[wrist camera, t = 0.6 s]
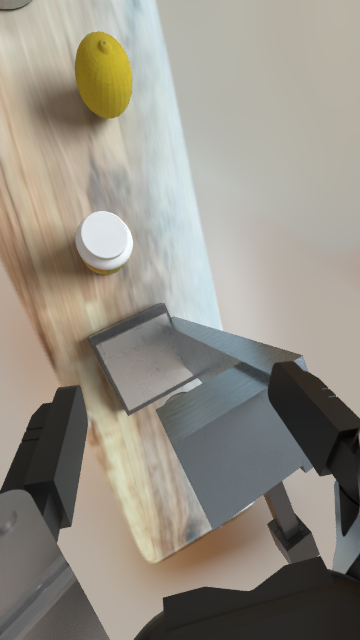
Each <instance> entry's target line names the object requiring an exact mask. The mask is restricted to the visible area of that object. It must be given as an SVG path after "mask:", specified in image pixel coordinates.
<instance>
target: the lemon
mask: <svg viewBox="0 0 360 640" xmlns="http://www.w3.org/2000/svg"><path fill="white" fill-rule="evenodd" d="M75 76H76V83H77V87H78V90H79V93H80V95H81V97H82V99H83V101H84V102H85V104H86V105H87V107H88V108H89V109H90V110H91V111H92V112H94V113H95V114H96V115H98V116H100V117H102V118H107V119H108V118H115V117H117V116H119V115H120V114H122V113H123V112H124V110H125V109H126V107H127V106H128V104H129V101H130V97H131V93H132V73H131V67H130V63H129V60H128V57H127V55H126V52H125V51H124V49H123V48H122V46H121V44H120V43H119V42H118V41H117V40H116V39H115V38H113V37H112V36H111V35H109V34H106V33H104V32H92V33H90V34H88V35H87V36H86V37H85V38H84V39H83V40H82V41H81V43H80V45H79V47H78V50H77V54H76V60H75Z"/></svg>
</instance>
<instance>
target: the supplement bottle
mask: <svg viewBox="0 0 360 640" xmlns="http://www.w3.org/2000/svg"><path fill="white" fill-rule="evenodd" d="M75 241H76V247H77V250H78V252H79V254H80V256H81V258H82V260H83V262H84V263H85V265H86V266H87V267H88V268H89V269H91V270H92V271H94V272H96V273H98V274H103V275H108V274H113V273H115V272H117V271H118V270H120V269H121V268H122V267H123V265H124V264H125V263H126V261H127V260H128V258H129V257H130V255H131V252H132V248H133V240H132V235H131V233H130V230H129V228H128V227H127V226H126V224H125V223H124V222H123V221H122V220H121V219H120V218H119V217H118V216H116V215H115V214H112V213H110V212H106V211H98V212H95V213H92V214H90V215H89V216H88V217H86V218H85V219H84V220H83V221H82V222H81V223H80V225H79V226H78V228H77V231H76V236H75Z"/></svg>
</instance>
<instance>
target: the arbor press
mask: <svg viewBox="0 0 360 640" xmlns="http://www.w3.org/2000/svg"><path fill="white" fill-rule="evenodd" d="M88 339H89V341H90V343H91V345H92V347H93V349H94V351H95V353H96V355H97V357H98V359H99V361H100V363H101V365H102V366H103V368H104V370H105V372H106V374H107V376H108V378H109V380H110V382H111V384H112V386H113V388H114V390H115V392H116V394H117V396H118V398H119V399H120V401H121V403H122V405H123V407H124V409H125V411H126V413H127V415H128V416H129V415H131V414H133V413H134V412H136V411H138V410H140V409H142V408H143V407H145V406H147V405H149V404H151V403H153V402H154V401H156V400H158V399H160V398H162V397H163V396H165V395H167V394H169V393H171V392H172V391H174V390H176V389H178V388H180V387H182V386H183V385H185V384H187V383H189V382H191V381H192V380H194V379H196V377H197V378H198V379H199V380H200V381H201V382H202V383H203V384H201V385H199V386H197V387H195V388H194V389H192V390H190V391H188V392H180V393H177V394H175V395H173V396H171V397H170V398H169V399H168V400H167V401H166V403H165V404H164V405H163V406H162V407H160V408H158V409H156V412H157V414H158V416H159V418H160V420H161V423H162V425H163V427H164V429H165V431H166V433H167V436H168V438H169V440H170V442H171V444H172V446H173V448H174V450H175V453H176V455H177V457H178V459H179V461H180V463H181V465H182V467H183V469H184V471H185V473H186V475H187V477H188V479H189V481H190V483H191V486H192V488H193V490H194V492H195V494H196V496H197V498H198V500H199V502H200V504H201V506H202V508H203V510H204V512H205V514H206V516H207V518H208V521H209V523H210V525H211V527H212V529H213V530H215V529H216V528H217V527H219V526H220V525H222V524H223V523H224V522H226V521H227V520H229V519H230V518H231V517H233V516H234V515H235V514H237V513H238V512H240V511H241V510H242V509H244V508H245V507H246V506H248V505H249V504H251V503H252V502H253V501H255V500H256V499H257V498H259V497H260V496H262V495H264V497H265V500H266V502H267V504H268V507H269V509H270V512H271V514H272V517H273V520H272V521H271V522H269V523H268V524H267V525H268V527H269V530H270V532H271V535H272V537H273V539H274V541H275V544H276V546H277V547H278V549H279V550H280V551H281V553H282V554H283V556H284V557H285V559H286V560H287V562H288V563H289V564H292V563H296V562H300V561H303V560H307V559H311V558H315V557H317V556H318V555H319V551H318V549H317V546H316V543H315V541H314V538H313V535H312V532H311V531H310V530H309V529H308V528H307V527H306V525H305V524H304V523H303V522H302V521H301V520H300V519H299V518H298V516H297V515H296V514H295V513H294V511H293V509H292V506H291V503H290V501H289V498H288V496H287V493H286V490H285V488H284V485H283V483H282V480H284V479H285V478H286V477H288V476H289V475H291V474H292V473H293V472H295V471H296V470H297V469H299V468H301V469H302V470H303V471H304V472H305V473H306V472H308V471H309V470H310V469H312V468H313V466H312V464H311V463H310V461H309V460H308V458H307V457H306V455H305V454H304V452H303V451H302V449H301V448H300V446H299V445H298V443H297V442H296V440H295V439H294V437H293V436H292V435H291V433H290V432H289V430H288V429H287V427H286V426H285V424H284V423H283V421H282V420H281V418H280V417H279V415H278V414H277V412H276V411H275V409H274V408H273V406H272V405H271V403H270V401H269V398H268V385H269V381H270V376H271V371H272V367H273V364H274V363H276V362H284V361H294V362H295V363H297V364H298V365H299V367H300V368H301V369H302V370H303V371H307V372H308V370H307V367H306V363H305V360H304V357H303V355H300V354H296V353H293V352H290V351H287V350H283V349H280V348H277V347H273V346H270V345H267V344H263V343H260V342H256V341H253V340H250V339H247V338H243V337H240V336H237V335H233V334H230V333H227V332H224V331H220V330H217V329H214V328H210V327H207V326H204V325H200V324H197V323H194V322H190V321H187V320H184V319H180V318H177V317H173V318H171V317H170V315H169V313H168V310H167V308H166V306H165V303H160V304H158V305H156V306H153V307H151V308H149V309H147V310H145V311H142V312H140V313H138V314H136V315H134V316H131V317H129V318H127V319H125V320H123V321H120V322H118V323H116V324H114V325H112V326H109V327H107V328H105V329H103V330H101V331H98V332H96V333H94V334H92V335H90V336H89V337H88Z"/></svg>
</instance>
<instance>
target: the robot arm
mask: <svg viewBox="0 0 360 640" xmlns="http://www.w3.org/2000/svg"><path fill="white" fill-rule="evenodd" d="M30 1H31V0H0V9H15V8H19V7H22V6H24V5H26V4H27V3H29V2H30ZM268 398H269V401H270V403H271V405H272V406H273V408H274V409H275V411H276V412H277V414H278V415H279V417H280V418H281V420H282V421H283V423H284V424H285V426H286V427H287V429H288V430H289V432H290V433H291V435H292V436H293V437H294V439H295V440H296V442H297V443H298V445H299V446H300V448H301V449H302V451H303V452H304V454H305V455H306V457H307V458H308V460H309V461H310V463H311V464H312V466H313V467H314V469H315V470H316V472H317V473H318V474H319V476H325V475H330V474H333V476H334V477H335V478H336V481H335V484H334V492H335V514H336V536H337V537H336V539H337V540H336V550H335V554H334V559H333V569H332V570H330V569H327V568H326V566H325V564H324V562H323V560H322V558H321V557H320V556H319V557H315V558H311V559H307V560H303V561H300V562H296V563H292V564H288V565H285V566H283V567H282V568H281V569H280V570H278V571H277V572H276V573H274V574H273V575H272V576H270V577H269V578H268V579H267V580H265V581H264V582H263V583H262V584H260V585H259V586H258V587H256V588H255V589H253V590H251V591H240V590H230V589H221V588H212V587H202V588H198V589H194V590H190V591H187V592H183V593H179V594H175V595H172V596H168V597H164V598H163V606H164V610H163V611H162V612H161V613H159V614H158V615H156V616H155V617H154V618H153V619H152V620H151V621H149V622H148V623H147V624H146V625H145V626H144V627H143V629H142V630H141V631H140V632H139V633H138V635H137V636H136V637H135V638H134V640H360V418H359V417H357V415H356V414H354V412H353V411H351V409H350V408H348V407H347V406H346V405H345V404H344V403H343V402H342V401H341V400H340V399H339V398H338V397H336V395H335V394H334V393H333V392H332V391H331V390H330V389H328V387H327V386H326V385H325V384H324V383H323V382H322V381H321V380H320V379H319V378H317V377H316V376H314V375H312V374H311V373H309V372H307V371H303V370H302V369H301V368H300V367H299V365H298V364H297V363H295V362H294V361H284V362H276V363H274V364H273V367H272V371H271V376H270V381H269V385H268ZM87 427H88V419H87V412H86V407H85V403H84V399H83V394H82V390H81V387H80V385H76V386H68V387H59V388H58V389H57V391H56V393H55V397H54V399H53V402H52V403H46V404H42V405H41V406H40V408H39V409H38V410H37V411H36V412H35V413H34V414H33V415H32V417H31V419H30V422H29V424H28V427H27V429H26V432H25V433H24V436H23V438H22V443H20V445H19V448H18V450H17V452H16V455H15V457H14V460H13V462H12V464H11V467H10V469H9V471H8V474H7V476H6V478H5V481H4V483H3V486H2V488H1V490H0V640H110V639H109V637H108V635H107V634H106V632H105V630H104V628H103V626H102V624H101V622H100V621H99V619H98V617H97V615H96V613H95V612H94V609H93V608H92V606H91V604H90V602H89V600H88V598H87V596H86V595H85V593H84V591H83V589H82V588H81V585H80V583H79V582H78V580H77V578H76V576H75V574H74V573H73V571H72V569H71V567H70V565H69V564H68V563H67V561H66V559H65V558H64V556H63V554H62V552H61V550H60V549H59V547H58V545H57V541H58V535H59V530H60V529H62V528H66V527H71V525H72V519H73V513H74V506H75V501H76V494H77V488H78V483H79V477H80V470H81V464H82V459H83V453H84V447H85V441H86V435H87Z"/></svg>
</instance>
